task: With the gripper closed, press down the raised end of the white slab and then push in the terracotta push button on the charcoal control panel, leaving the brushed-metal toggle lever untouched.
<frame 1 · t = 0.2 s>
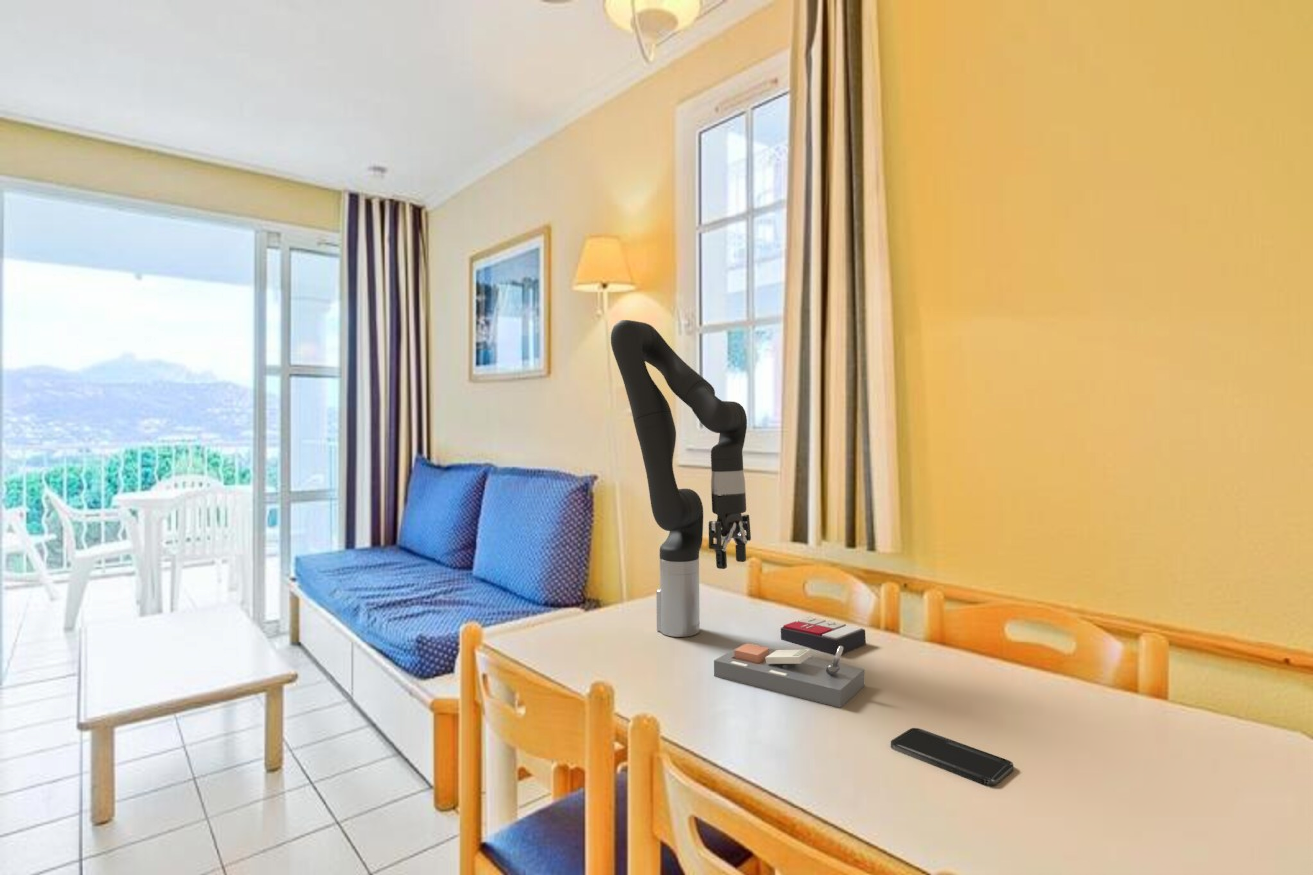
hand: (731, 564, 146), 17 cm above the table, tool pointing down, fingers open, 8 cm apart
white slab: (788, 656, 124), point 5 cm above the table, hinge at -12.0°
push button: (752, 656, 129), point 3 cm above the table, slide at 0.0 cm
panel: (790, 681, 124), on the table
calculator: (822, 644, 147), on the table
toggle lever: (834, 663, 119), point 5 cm above the table, hinge at 20.0°
phone: (950, 761, 95), on the table
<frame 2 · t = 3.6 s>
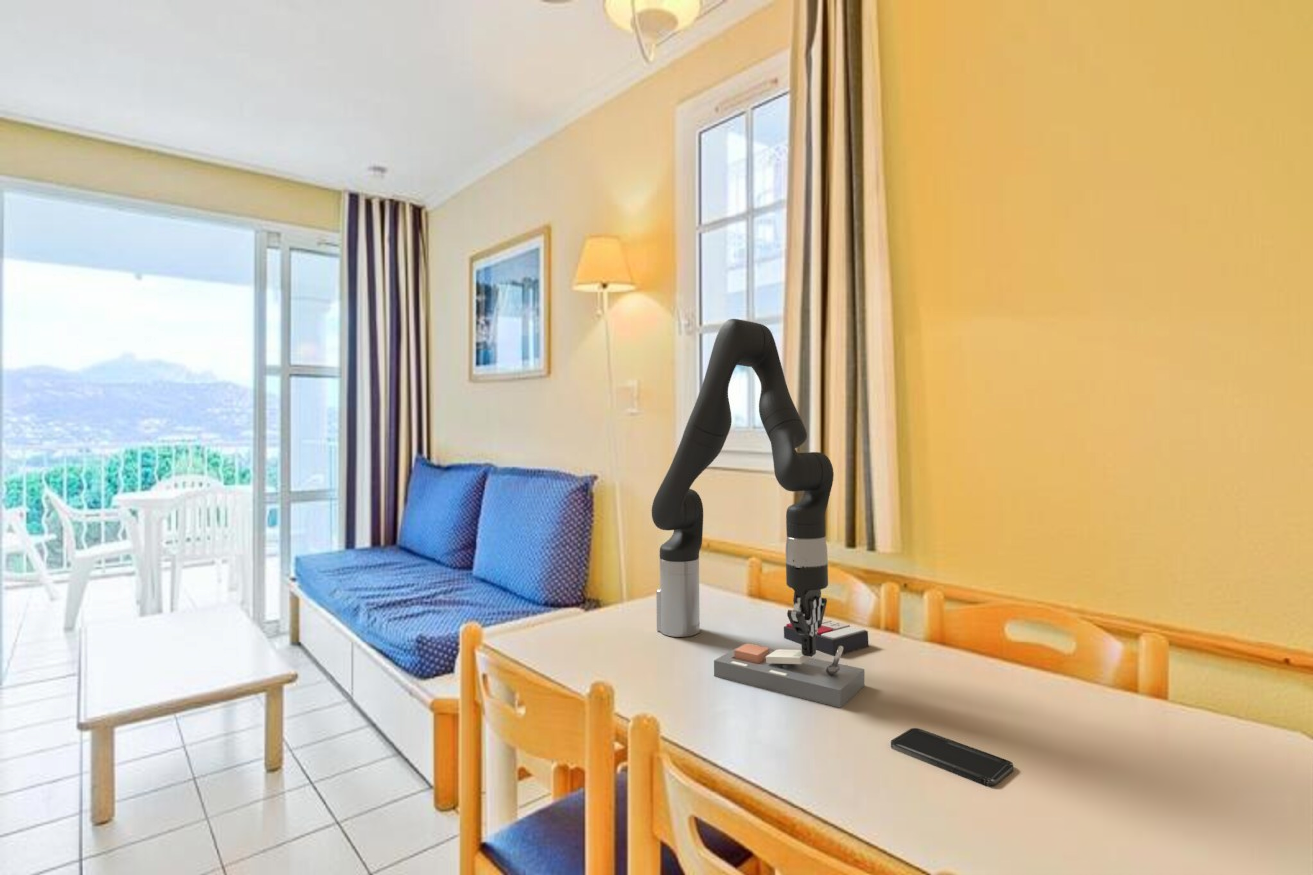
hand: (808, 654, 122), 6 cm above the table, tool pointing down, fingers closed
white slab: (788, 656, 124), point 5 cm above the table, hinge at -10.0°, touching gripper
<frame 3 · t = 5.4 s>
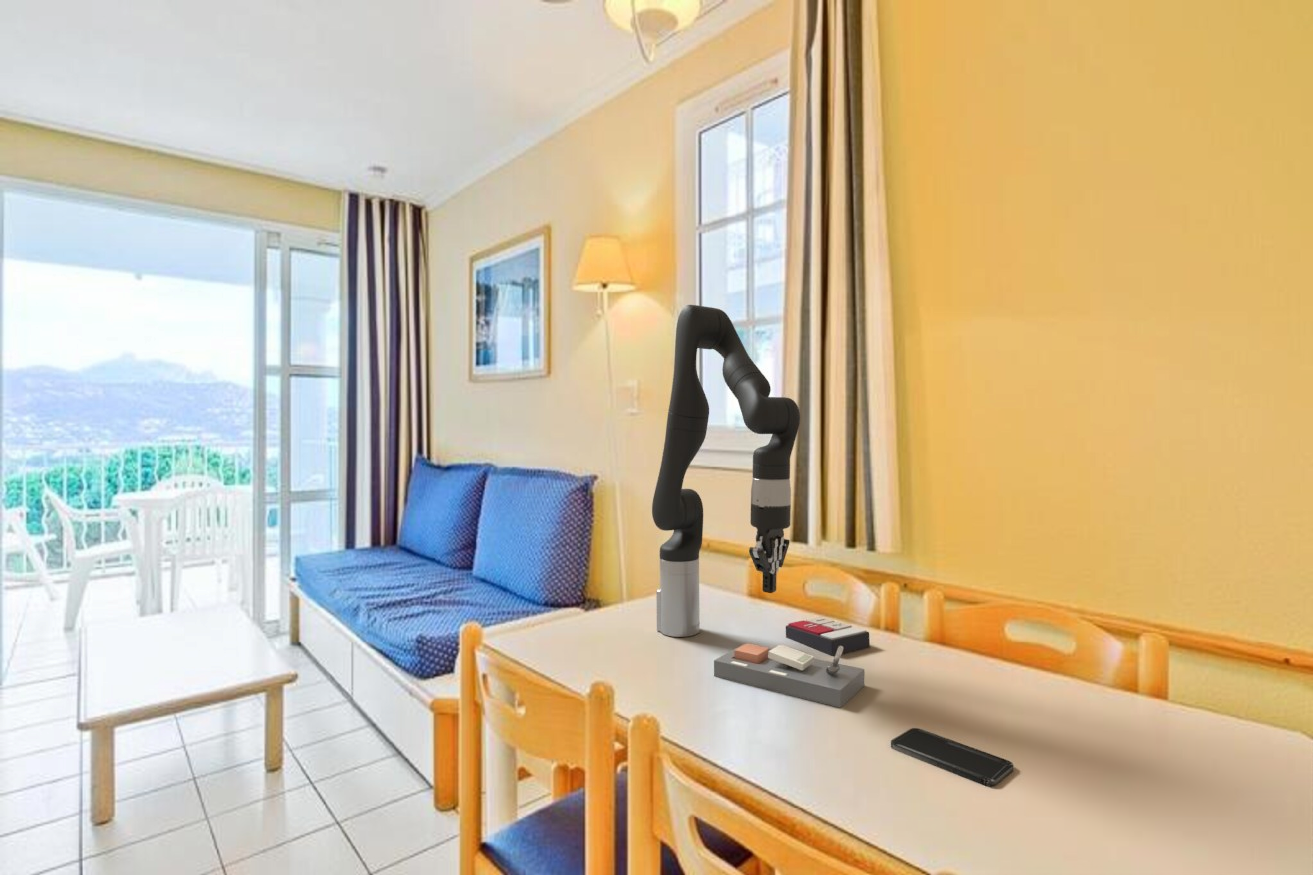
hand: (769, 591, 127), 16 cm above the table, tool pointing down, fingers closed
white slab: (791, 656, 124), point 5 cm above the table, hinge at 7.8°
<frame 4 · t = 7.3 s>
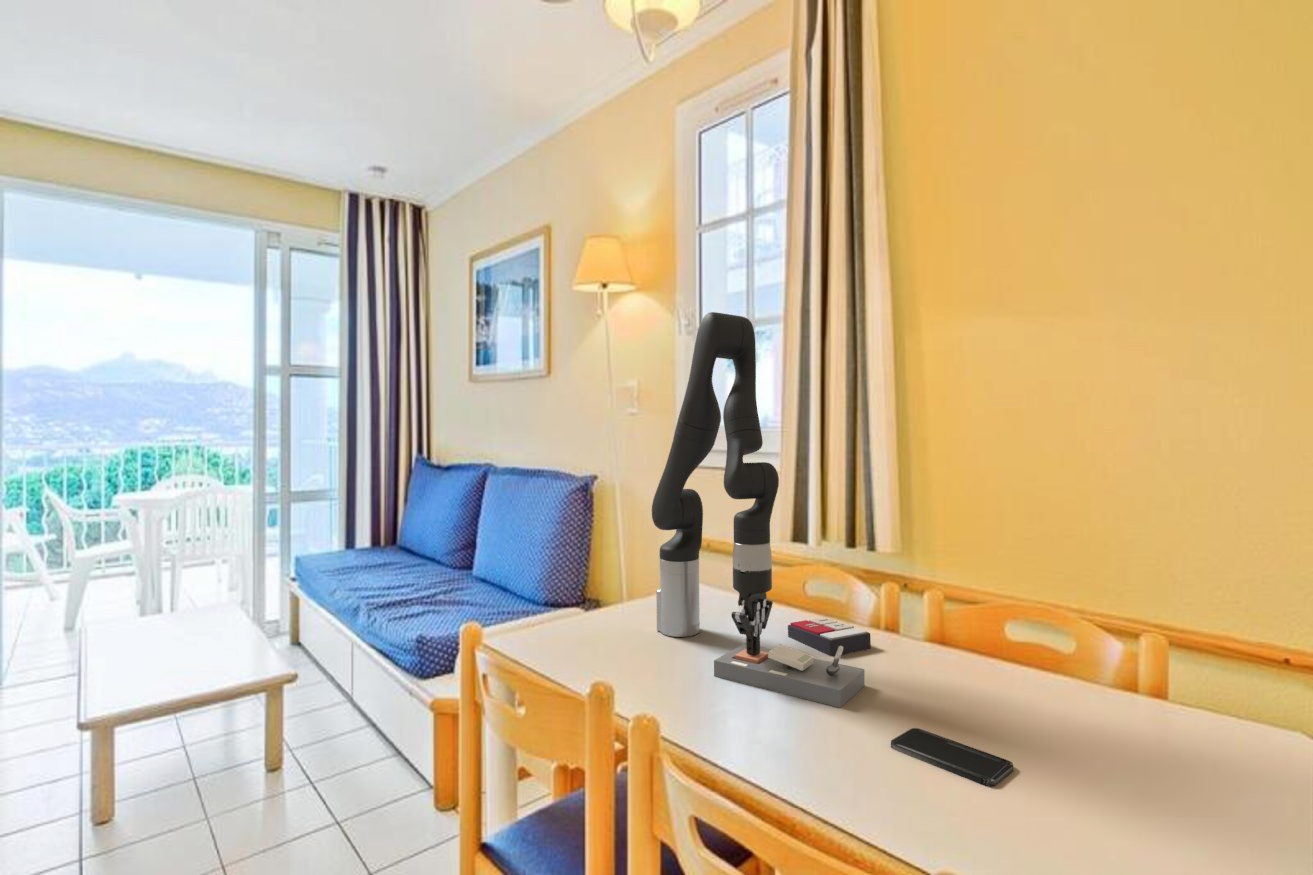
hand: (753, 653, 129), 4 cm above the table, tool pointing down, fingers closed
white slab: (791, 656, 124), point 5 cm above the table, hinge at 8.7°
push button: (752, 661, 129), point 2 cm above the table, slide at 1.0 cm, touching gripper
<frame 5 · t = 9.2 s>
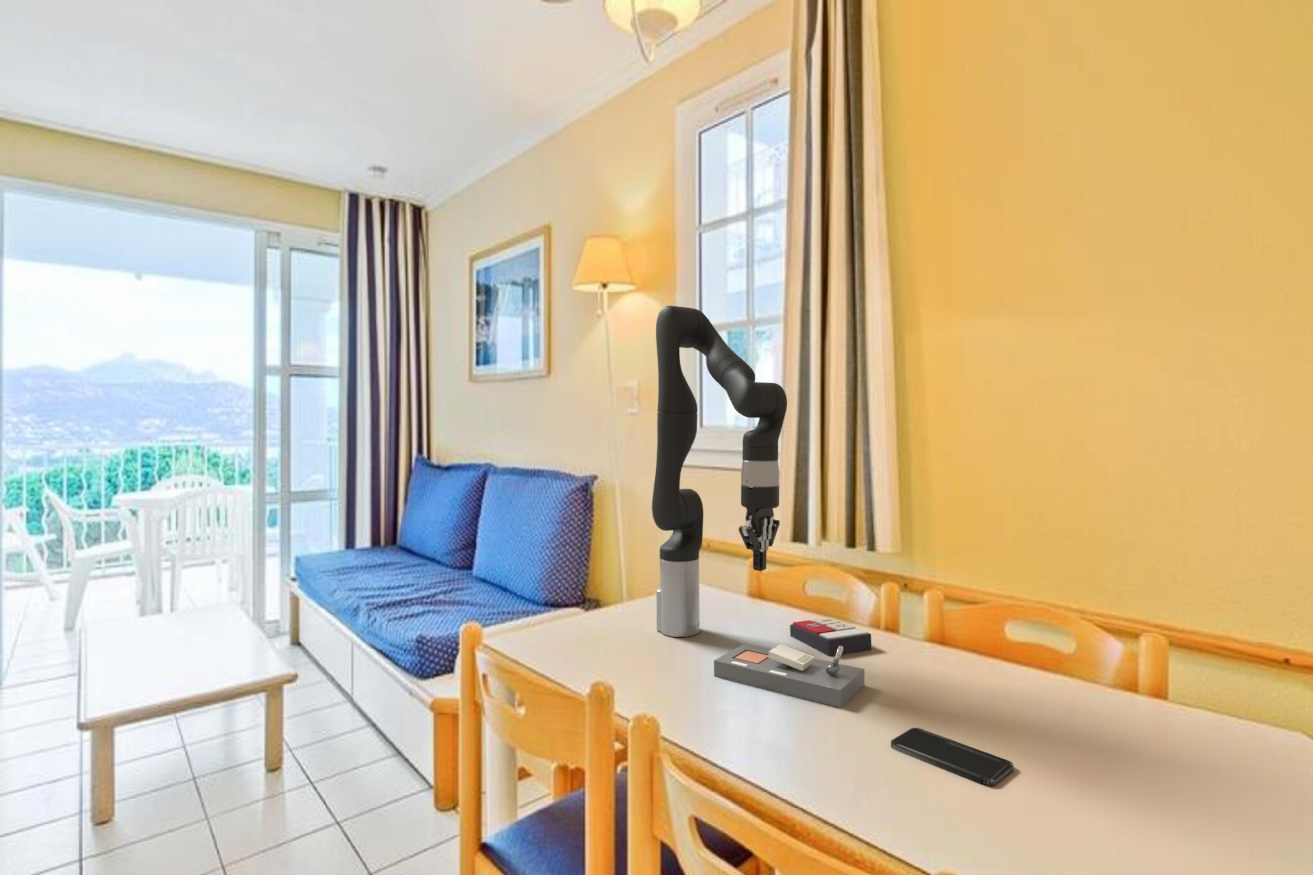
hand: (759, 569, 132), 19 cm above the table, tool pointing down, fingers closed
push button: (752, 663, 129), point 2 cm above the table, slide at 1.5 cm
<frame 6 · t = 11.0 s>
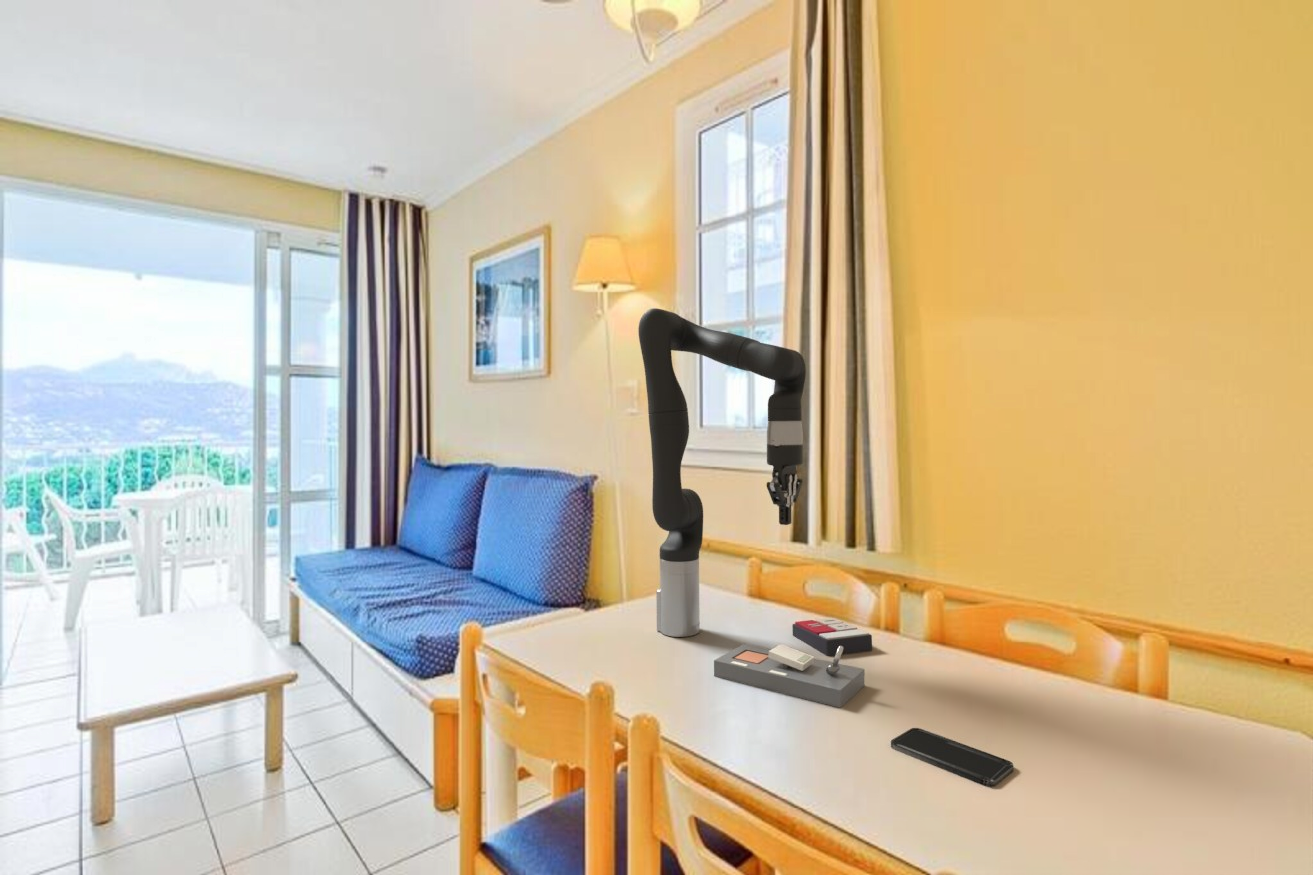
hand: (785, 524, 140), 27 cm above the table, tool pointing down, fingers closed
at the end: push button slide at 1.5 cm; white slab at +9° (first picture: -12°); toggle lever at +20° (first picture: +20°) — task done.
